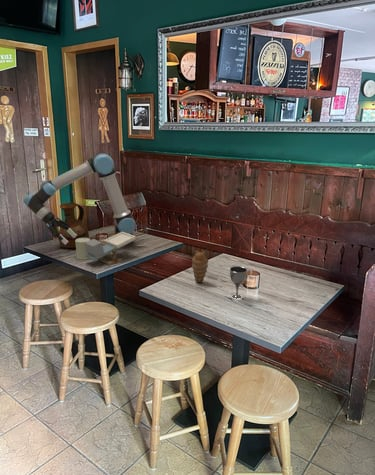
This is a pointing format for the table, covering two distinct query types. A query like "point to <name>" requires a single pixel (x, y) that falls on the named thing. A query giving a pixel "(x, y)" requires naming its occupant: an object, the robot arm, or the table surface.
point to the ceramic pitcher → (73, 225)
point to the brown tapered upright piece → (199, 266)
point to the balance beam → (107, 245)
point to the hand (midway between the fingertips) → (71, 239)
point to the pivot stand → (110, 258)
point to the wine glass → (237, 277)
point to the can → (81, 248)
